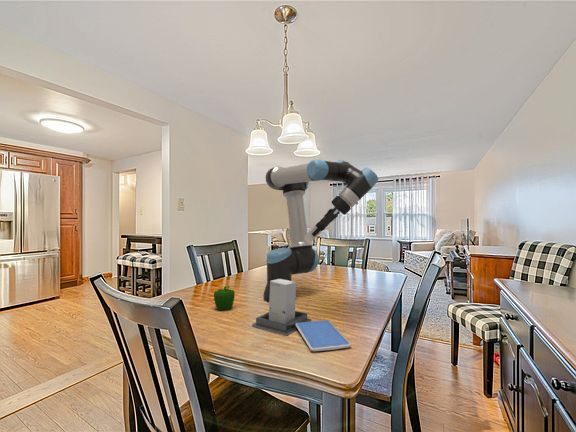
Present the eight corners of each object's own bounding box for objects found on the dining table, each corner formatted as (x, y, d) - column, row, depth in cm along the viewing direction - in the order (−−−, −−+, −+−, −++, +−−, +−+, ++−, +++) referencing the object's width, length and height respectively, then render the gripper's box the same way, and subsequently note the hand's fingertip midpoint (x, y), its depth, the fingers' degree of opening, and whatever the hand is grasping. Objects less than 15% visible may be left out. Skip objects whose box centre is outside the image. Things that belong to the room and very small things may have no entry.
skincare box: (268, 321, 107) (268, 280, 107) (279, 317, 112) (279, 277, 112) (286, 326, 102) (285, 284, 102) (296, 321, 106) (296, 280, 106)
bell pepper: (210, 309, 125) (210, 285, 125) (226, 304, 131) (226, 282, 131) (221, 313, 119) (221, 288, 119) (238, 308, 125) (237, 285, 125)
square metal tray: (252, 326, 104) (251, 318, 104) (278, 313, 118) (278, 306, 118) (286, 336, 96) (286, 326, 96) (311, 321, 109) (311, 313, 109)
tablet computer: (294, 325, 102) (294, 322, 102) (328, 322, 105) (328, 318, 105) (311, 353, 84) (311, 349, 83) (352, 348, 86) (352, 344, 86)
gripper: (356, 207, 102) (313, 250, 103) (347, 208, 127) (313, 243, 128) (341, 192, 102) (298, 235, 103) (335, 196, 127) (300, 231, 128)
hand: (306, 240), depth 116 cm, fingers open, 13 cm apart
